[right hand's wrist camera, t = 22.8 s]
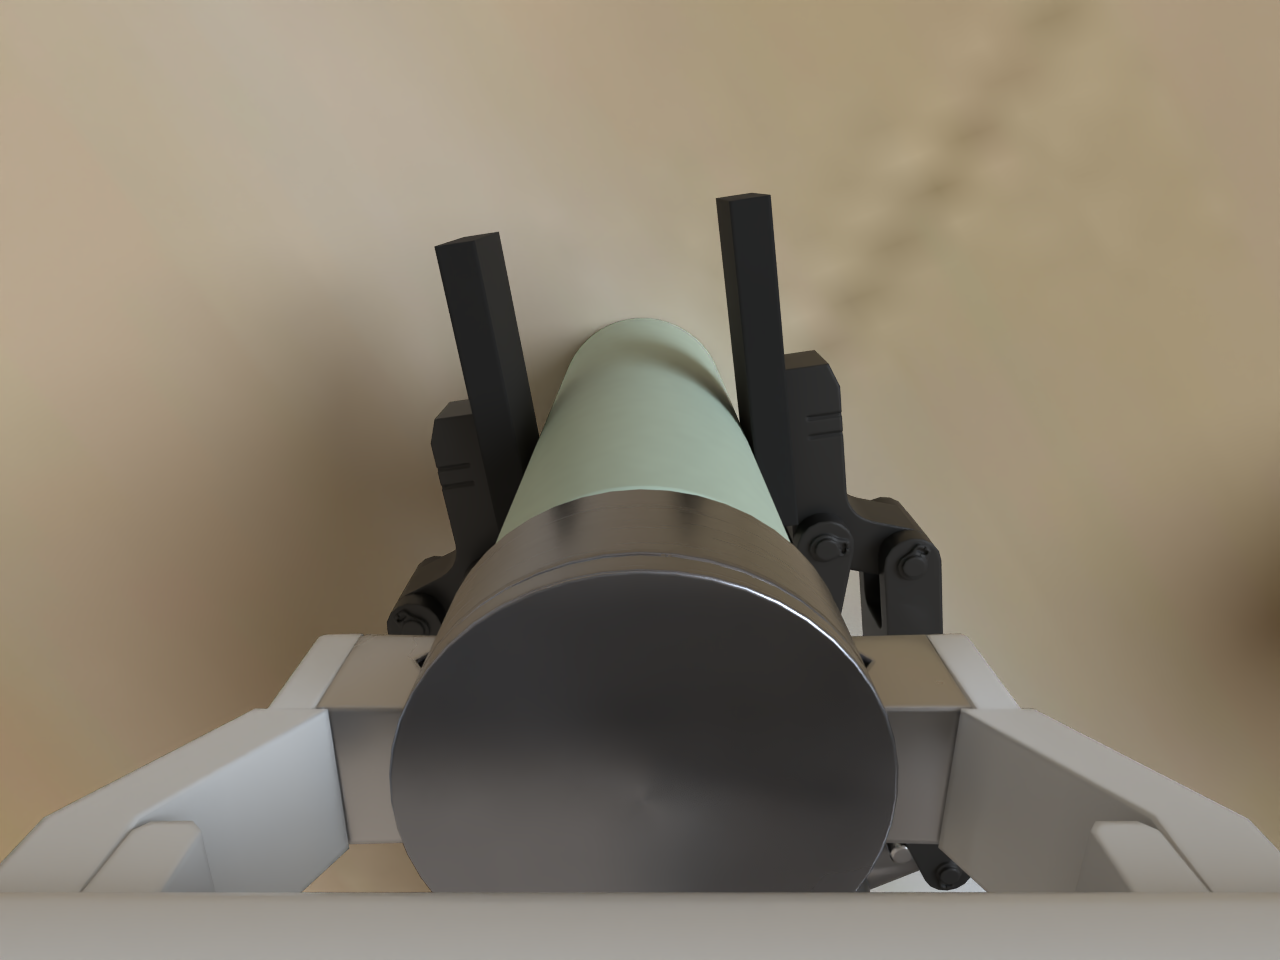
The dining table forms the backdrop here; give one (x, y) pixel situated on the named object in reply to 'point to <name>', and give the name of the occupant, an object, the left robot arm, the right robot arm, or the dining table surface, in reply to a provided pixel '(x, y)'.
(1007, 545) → the dining table surface
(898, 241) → the dining table surface
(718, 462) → the bottle
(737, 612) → the lid
